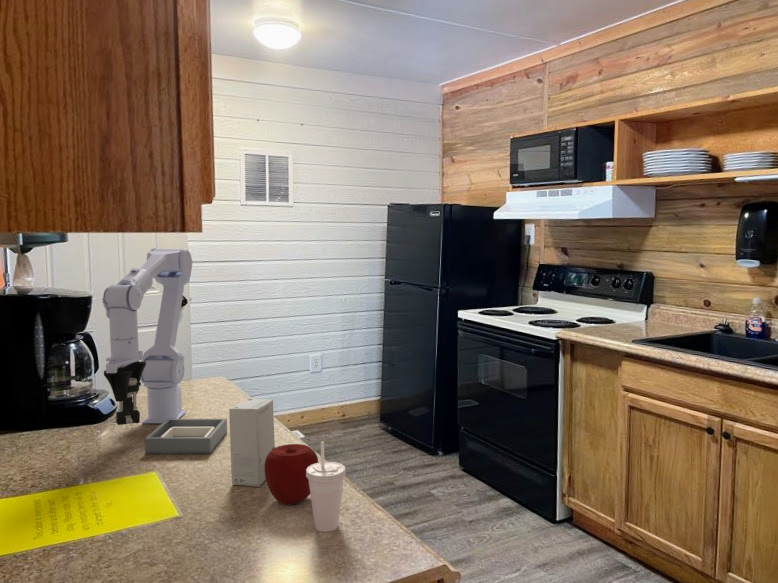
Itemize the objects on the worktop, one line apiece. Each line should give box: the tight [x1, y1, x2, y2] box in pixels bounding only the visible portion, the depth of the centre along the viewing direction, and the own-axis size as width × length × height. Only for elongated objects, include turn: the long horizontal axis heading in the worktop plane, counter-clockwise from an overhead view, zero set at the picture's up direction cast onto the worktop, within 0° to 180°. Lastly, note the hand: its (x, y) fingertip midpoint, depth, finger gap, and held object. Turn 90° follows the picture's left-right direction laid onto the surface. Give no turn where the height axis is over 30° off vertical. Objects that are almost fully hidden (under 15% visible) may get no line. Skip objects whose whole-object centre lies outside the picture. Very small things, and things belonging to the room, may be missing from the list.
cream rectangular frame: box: [161, 427, 215, 437], centre depth 140 cm, size 8×10×2 cm
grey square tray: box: [144, 418, 228, 455], centre depth 140 cm, size 14×14×4 cm
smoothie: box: [306, 441, 347, 533], centre depth 100 cm, size 6×6×14 cm
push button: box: [107, 378, 142, 426], centre depth 139 cm, size 7×5×10 cm
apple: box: [264, 443, 320, 506], centre depth 110 cm, size 10×10×10 cm
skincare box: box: [228, 398, 276, 488], centre depth 119 cm, size 8×6×15 cm
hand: (126, 397), depth 139 cm, fingers closed on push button, 5 cm apart
